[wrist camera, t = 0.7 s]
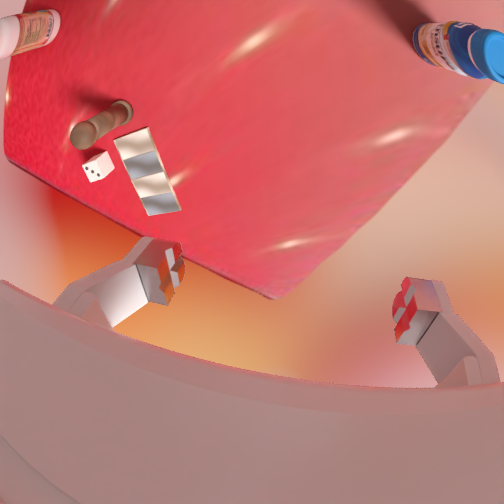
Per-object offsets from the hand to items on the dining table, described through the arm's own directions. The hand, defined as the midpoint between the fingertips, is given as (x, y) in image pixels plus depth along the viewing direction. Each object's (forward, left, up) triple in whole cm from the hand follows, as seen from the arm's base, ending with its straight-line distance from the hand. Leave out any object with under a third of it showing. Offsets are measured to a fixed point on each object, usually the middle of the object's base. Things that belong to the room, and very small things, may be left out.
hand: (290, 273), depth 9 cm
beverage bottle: (-8, +25, -41) cm, 49 cm away
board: (+11, -33, -40) cm, 53 cm away
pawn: (-4, -33, -40) cm, 52 cm away
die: (+5, -43, -40) cm, 59 cm away
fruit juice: (-33, -45, -41) cm, 69 cm away
